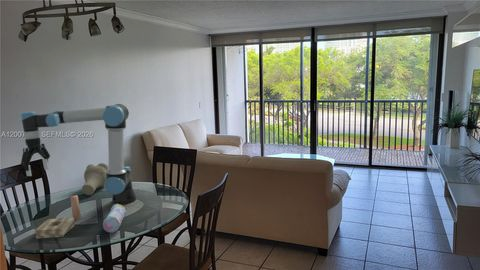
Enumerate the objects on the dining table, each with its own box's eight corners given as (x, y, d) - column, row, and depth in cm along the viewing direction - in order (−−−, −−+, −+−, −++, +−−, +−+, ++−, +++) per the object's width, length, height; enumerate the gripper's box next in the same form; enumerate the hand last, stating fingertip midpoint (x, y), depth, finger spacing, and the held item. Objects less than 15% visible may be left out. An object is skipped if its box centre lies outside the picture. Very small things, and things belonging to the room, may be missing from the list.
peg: (81, 217, 203) (78, 195, 200) (79, 220, 199) (76, 197, 196) (75, 218, 203) (71, 195, 200) (72, 220, 199) (68, 198, 196)
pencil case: (111, 218, 200) (109, 203, 198) (127, 217, 201) (125, 201, 199) (103, 235, 179) (101, 218, 178) (120, 233, 181) (118, 216, 179)
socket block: (74, 225, 193) (73, 217, 192) (63, 236, 179) (62, 228, 178) (49, 226, 192) (48, 219, 191) (36, 238, 178) (34, 230, 178)
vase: (98, 180, 231) (112, 160, 257) (65, 177, 230) (82, 157, 255) (99, 206, 240) (113, 184, 266) (68, 203, 239) (84, 182, 264)
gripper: (42, 134, 215) (48, 166, 219) (9, 142, 191) (15, 178, 195) (53, 133, 214) (58, 166, 217) (20, 142, 190) (27, 178, 193)
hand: (38, 172), depth 206 cm, fingers open, 13 cm apart
